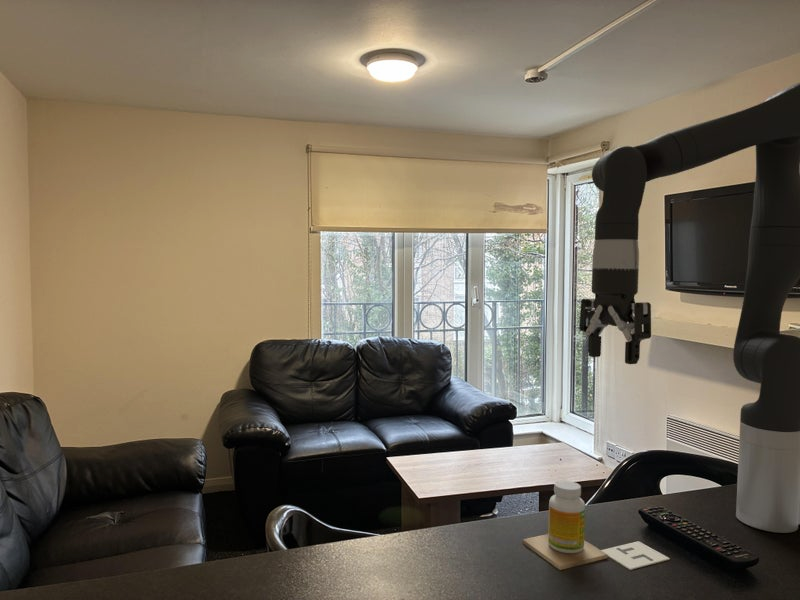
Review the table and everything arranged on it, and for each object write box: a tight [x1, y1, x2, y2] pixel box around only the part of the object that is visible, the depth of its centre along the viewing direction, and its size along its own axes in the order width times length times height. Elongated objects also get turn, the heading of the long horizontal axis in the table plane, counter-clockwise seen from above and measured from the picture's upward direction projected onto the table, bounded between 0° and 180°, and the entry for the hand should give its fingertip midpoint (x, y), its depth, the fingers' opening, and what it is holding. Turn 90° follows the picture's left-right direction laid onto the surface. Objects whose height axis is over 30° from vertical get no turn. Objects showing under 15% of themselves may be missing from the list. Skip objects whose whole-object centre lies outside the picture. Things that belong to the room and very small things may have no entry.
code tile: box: [600, 541, 670, 571], centre depth 89 cm, size 8×6×1 cm
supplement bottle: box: [547, 480, 586, 553], centre depth 90 cm, size 5×5×10 cm
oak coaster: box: [522, 533, 608, 571], centre depth 90 cm, size 9×9×1 cm
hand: (612, 360), depth 101 cm, fingers open, 8 cm apart
